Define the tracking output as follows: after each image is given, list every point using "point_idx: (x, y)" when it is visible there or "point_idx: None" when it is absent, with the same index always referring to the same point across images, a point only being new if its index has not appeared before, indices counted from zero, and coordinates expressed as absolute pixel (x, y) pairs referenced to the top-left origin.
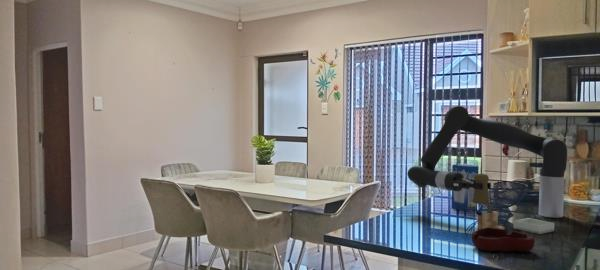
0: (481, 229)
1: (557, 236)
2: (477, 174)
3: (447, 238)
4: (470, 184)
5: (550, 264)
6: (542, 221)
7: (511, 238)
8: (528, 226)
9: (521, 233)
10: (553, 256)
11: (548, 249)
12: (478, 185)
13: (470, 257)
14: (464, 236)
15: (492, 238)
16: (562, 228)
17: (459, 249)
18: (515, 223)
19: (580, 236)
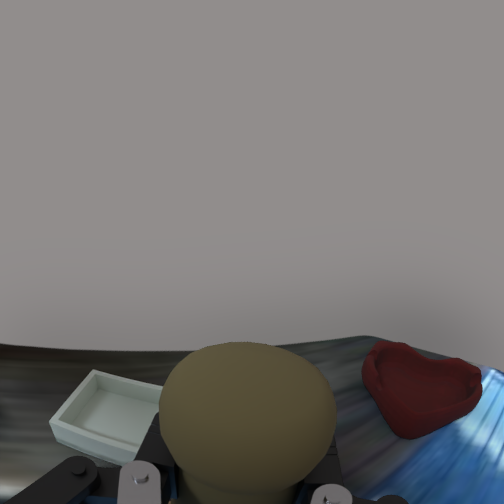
0: (445, 407)
1: (165, 379)
2: (312, 394)
3: (490, 483)
4: (363, 502)
5: (391, 341)
6: (81, 392)
7: (421, 355)
8: None
9: (373, 360)
10: (351, 350)
11: (317, 365)
12: (331, 442)
13: (492, 385)
14: (433, 492)
15: (461, 360)
16: (49, 376)
17: (496, 415)
18: None
19: (126, 352)
